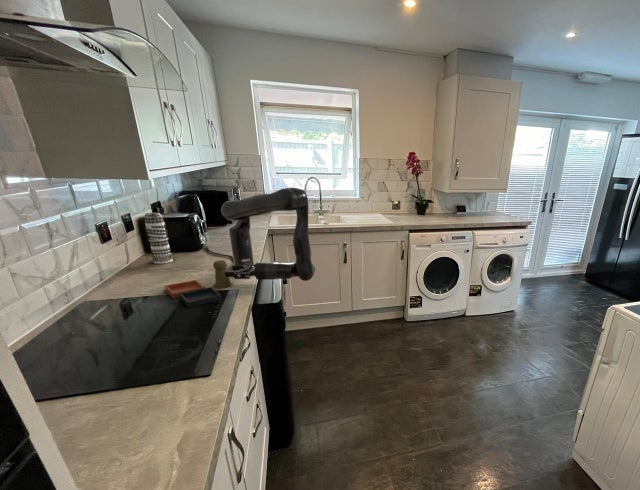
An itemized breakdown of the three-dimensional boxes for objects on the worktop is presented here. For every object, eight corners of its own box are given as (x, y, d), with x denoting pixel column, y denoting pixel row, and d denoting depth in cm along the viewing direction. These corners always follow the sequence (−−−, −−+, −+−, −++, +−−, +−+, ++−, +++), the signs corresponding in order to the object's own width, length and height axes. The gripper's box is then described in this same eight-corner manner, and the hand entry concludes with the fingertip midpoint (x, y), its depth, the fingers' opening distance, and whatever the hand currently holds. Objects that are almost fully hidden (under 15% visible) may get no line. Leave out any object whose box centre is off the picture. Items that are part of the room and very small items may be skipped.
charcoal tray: (180, 298, 126) (179, 293, 126) (212, 291, 134) (211, 286, 134) (188, 307, 119) (187, 302, 118) (222, 299, 127) (221, 294, 126)
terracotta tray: (165, 290, 133) (164, 285, 133) (197, 283, 141) (196, 279, 141) (173, 298, 126) (172, 293, 125) (205, 291, 134) (205, 286, 133)
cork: (212, 285, 140) (208, 261, 136) (225, 281, 145) (221, 258, 141) (221, 288, 137) (217, 264, 134) (234, 284, 143) (230, 260, 139)
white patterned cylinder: (177, 258, 174) (167, 212, 165) (167, 264, 165) (156, 214, 156) (159, 258, 173) (149, 211, 164) (148, 263, 164) (136, 214, 156)
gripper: (271, 258, 147) (233, 258, 145) (262, 267, 134) (221, 267, 131) (272, 273, 149) (235, 273, 147) (264, 284, 136) (223, 284, 134)
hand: (228, 271), depth 139 cm, fingers open, 8 cm apart
